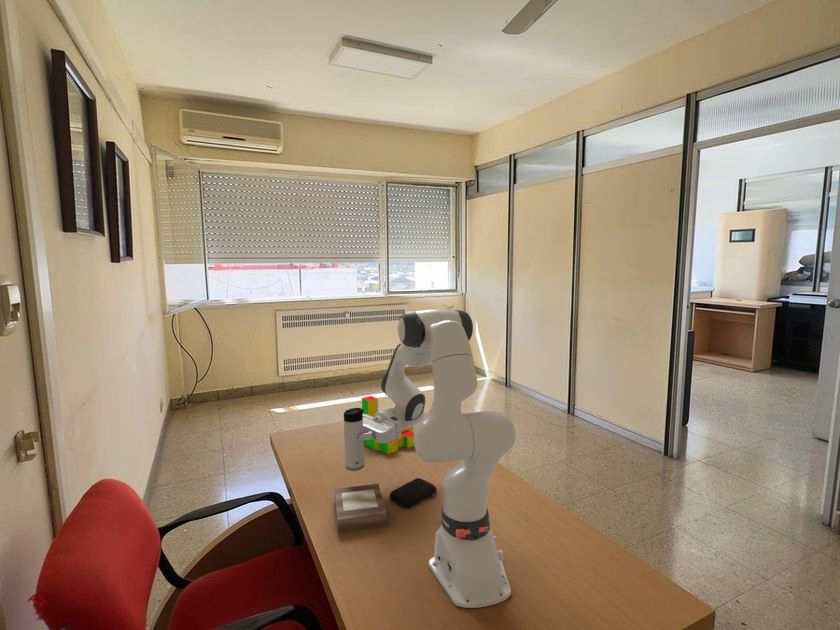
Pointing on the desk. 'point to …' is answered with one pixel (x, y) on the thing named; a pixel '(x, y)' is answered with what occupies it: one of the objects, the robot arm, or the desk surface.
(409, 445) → the building blocks toy
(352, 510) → the walnut riser
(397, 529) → the desk surface
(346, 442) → the travel mug
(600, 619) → the desk surface
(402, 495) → the carrying case or bag
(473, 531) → the robot arm
